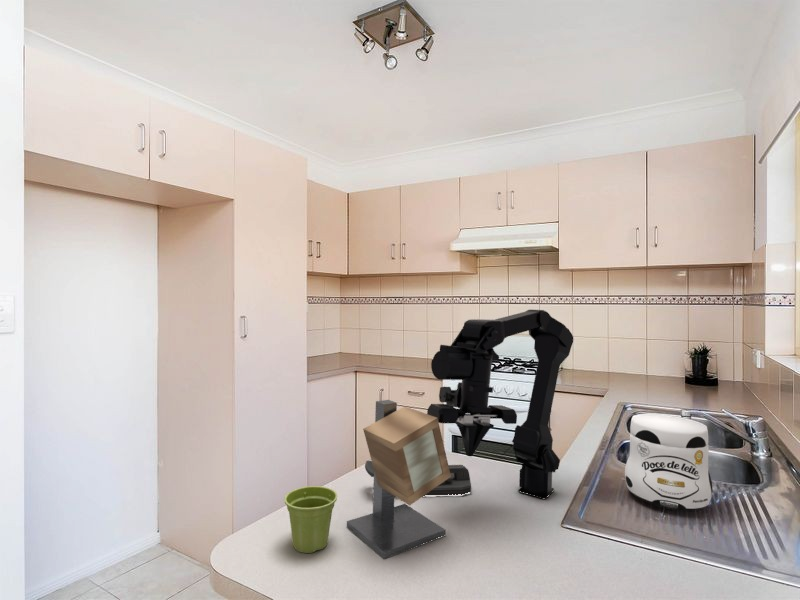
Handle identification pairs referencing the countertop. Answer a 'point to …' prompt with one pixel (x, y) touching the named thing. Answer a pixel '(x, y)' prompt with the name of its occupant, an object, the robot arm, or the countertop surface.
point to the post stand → (392, 516)
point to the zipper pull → (452, 485)
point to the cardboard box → (407, 454)
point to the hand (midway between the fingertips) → (469, 455)
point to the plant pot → (310, 516)
